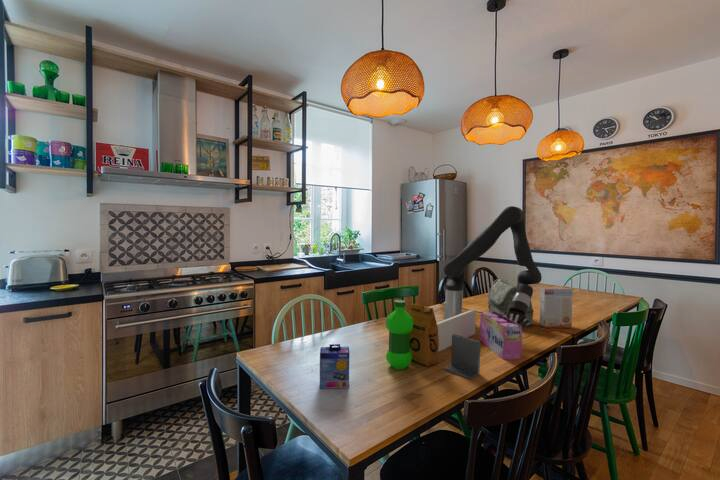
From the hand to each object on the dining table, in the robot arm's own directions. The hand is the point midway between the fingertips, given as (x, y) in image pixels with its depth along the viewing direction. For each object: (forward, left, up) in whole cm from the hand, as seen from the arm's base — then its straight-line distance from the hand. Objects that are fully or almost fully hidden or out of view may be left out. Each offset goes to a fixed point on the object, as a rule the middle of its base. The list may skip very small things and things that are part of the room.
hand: (509, 336), depth 147 cm
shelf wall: (-19, -15, -4) cm, 24 cm away
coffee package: (-18, -41, -5) cm, 45 cm away
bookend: (-2, -39, -4) cm, 39 cm away
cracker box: (+6, +47, -5) cm, 48 cm away
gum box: (-2, -6, -5) cm, 8 cm away
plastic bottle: (-21, -52, -5) cm, 56 cm away
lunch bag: (-16, +41, -5) cm, 45 cm away
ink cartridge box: (-27, -79, -5) cm, 83 cm away
